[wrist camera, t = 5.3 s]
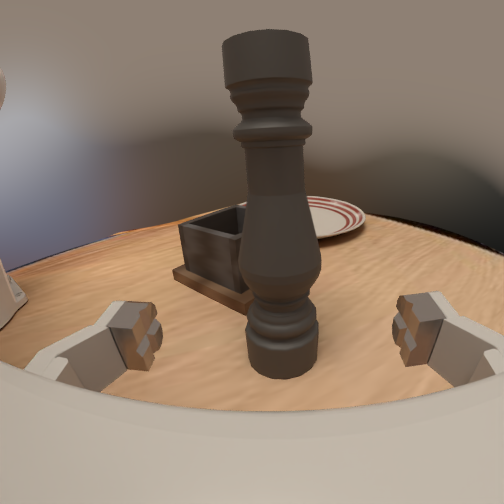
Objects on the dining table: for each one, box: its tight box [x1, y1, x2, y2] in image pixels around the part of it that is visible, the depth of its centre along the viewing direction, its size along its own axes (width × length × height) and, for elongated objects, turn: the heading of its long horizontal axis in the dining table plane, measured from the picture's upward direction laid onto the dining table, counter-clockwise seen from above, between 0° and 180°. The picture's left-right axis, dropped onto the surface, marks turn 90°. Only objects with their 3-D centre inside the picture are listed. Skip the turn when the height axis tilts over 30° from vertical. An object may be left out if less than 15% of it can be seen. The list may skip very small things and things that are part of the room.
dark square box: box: [172, 205, 255, 315], centre depth 39 cm, size 14×13×8 cm
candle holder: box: [222, 29, 321, 379], centre depth 20 cm, size 6×6×25 cm
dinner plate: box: [240, 196, 366, 239], centre depth 58 cm, size 27×27×3 cm
